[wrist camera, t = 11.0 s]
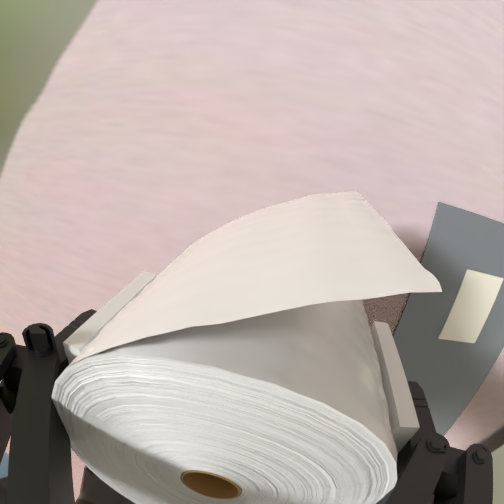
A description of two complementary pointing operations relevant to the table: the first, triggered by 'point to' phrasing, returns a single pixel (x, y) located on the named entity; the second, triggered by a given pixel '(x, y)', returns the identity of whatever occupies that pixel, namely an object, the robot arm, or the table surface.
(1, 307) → the table surface
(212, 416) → the toilet tissue
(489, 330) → the label mat
